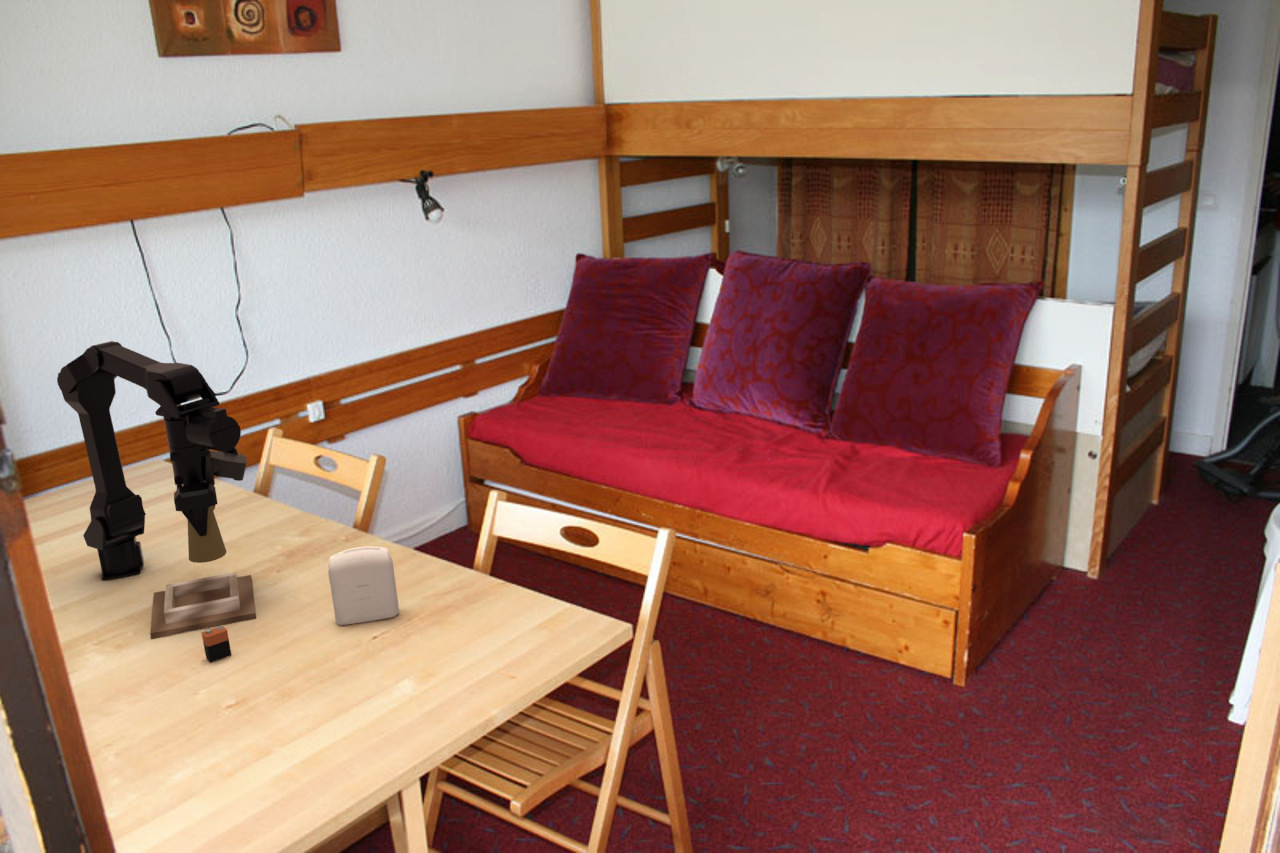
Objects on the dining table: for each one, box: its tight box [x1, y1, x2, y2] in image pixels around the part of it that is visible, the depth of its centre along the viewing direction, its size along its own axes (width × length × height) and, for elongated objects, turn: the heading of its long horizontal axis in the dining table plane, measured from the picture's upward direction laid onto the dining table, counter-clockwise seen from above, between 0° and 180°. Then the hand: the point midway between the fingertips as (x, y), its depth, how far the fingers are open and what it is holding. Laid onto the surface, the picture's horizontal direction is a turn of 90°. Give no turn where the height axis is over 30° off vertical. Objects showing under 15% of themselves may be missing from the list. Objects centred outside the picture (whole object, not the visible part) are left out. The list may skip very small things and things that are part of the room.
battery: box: [201, 625, 232, 663], centre depth 162 cm, size 2×3×5 cm, turn 129°
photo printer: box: [328, 546, 400, 626], centre depth 171 cm, size 10×4×12 cm, turn 104°
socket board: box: [149, 571, 257, 640], centre depth 178 cm, size 16×16×3 cm
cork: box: [187, 505, 227, 564], centre depth 177 cm, size 6×6×11 cm
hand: (202, 530), depth 177 cm, fingers closed on cork, 4 cm apart
